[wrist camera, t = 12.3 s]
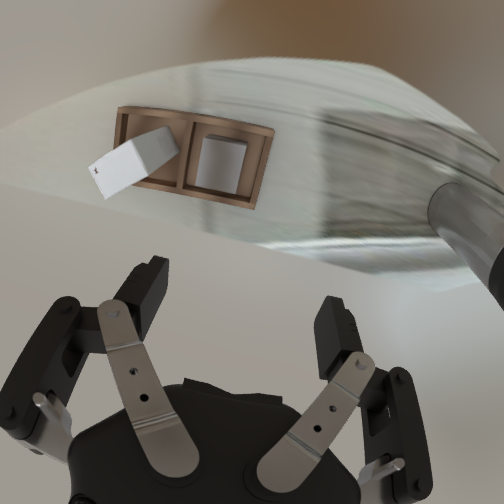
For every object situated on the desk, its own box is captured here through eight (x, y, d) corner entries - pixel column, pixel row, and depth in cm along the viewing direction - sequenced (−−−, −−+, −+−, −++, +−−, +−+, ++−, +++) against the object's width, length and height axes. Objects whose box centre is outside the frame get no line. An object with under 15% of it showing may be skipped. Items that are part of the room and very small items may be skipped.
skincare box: (146, 170, 35) (104, 201, 25) (132, 144, 33) (85, 166, 23) (182, 151, 34) (149, 176, 24) (169, 123, 32) (129, 137, 22)
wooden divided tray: (273, 128, 33) (275, 133, 29) (254, 201, 39) (253, 216, 34) (128, 105, 31) (110, 108, 27) (120, 175, 37) (104, 186, 32)
